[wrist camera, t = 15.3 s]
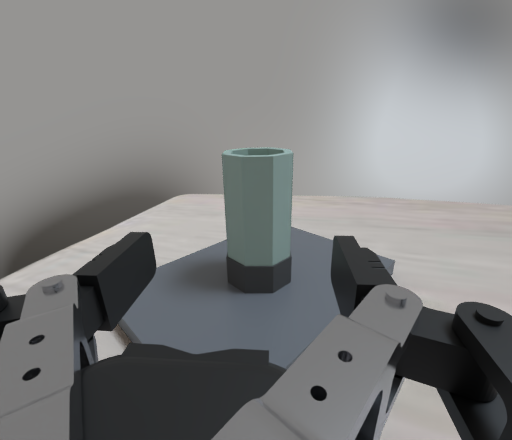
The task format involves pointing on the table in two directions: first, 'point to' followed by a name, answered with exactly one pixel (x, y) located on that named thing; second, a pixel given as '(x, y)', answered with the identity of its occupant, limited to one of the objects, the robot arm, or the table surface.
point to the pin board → (238, 304)
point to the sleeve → (258, 218)
